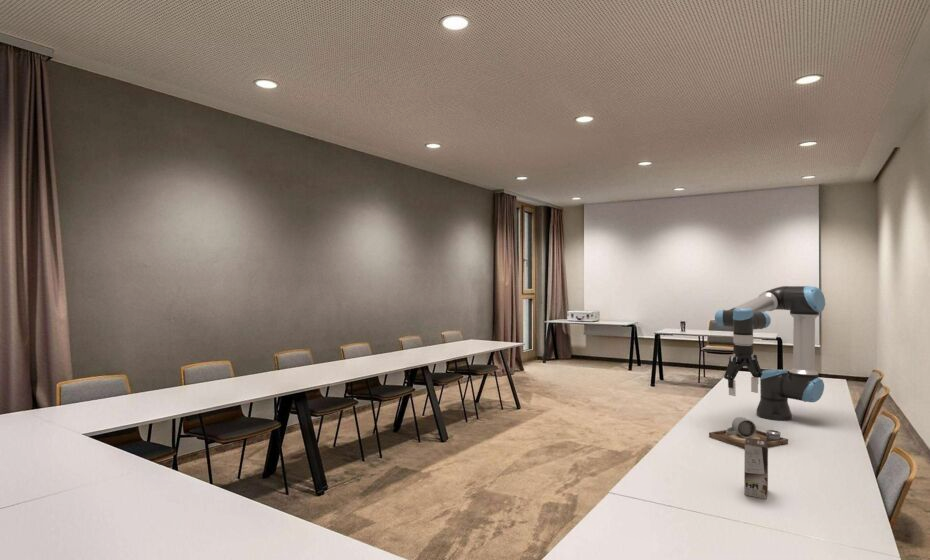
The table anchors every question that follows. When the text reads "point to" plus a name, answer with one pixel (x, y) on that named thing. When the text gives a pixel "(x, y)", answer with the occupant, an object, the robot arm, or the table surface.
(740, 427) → the ceramic mug
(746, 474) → the coffee box
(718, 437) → the tray
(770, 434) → the sugar tin
